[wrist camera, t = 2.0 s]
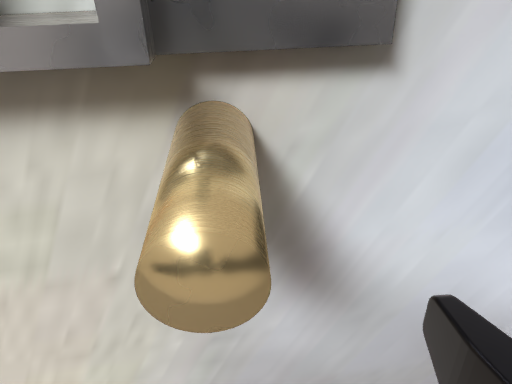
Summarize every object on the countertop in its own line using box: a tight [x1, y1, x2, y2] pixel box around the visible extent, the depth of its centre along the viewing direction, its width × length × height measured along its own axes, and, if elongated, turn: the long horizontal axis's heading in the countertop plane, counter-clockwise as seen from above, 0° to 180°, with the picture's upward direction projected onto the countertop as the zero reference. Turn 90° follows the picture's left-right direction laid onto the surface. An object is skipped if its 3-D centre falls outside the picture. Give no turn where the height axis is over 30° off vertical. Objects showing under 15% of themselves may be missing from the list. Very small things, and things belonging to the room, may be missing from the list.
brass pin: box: [135, 101, 271, 333], centre depth 13 cm, size 3×3×8 cm
